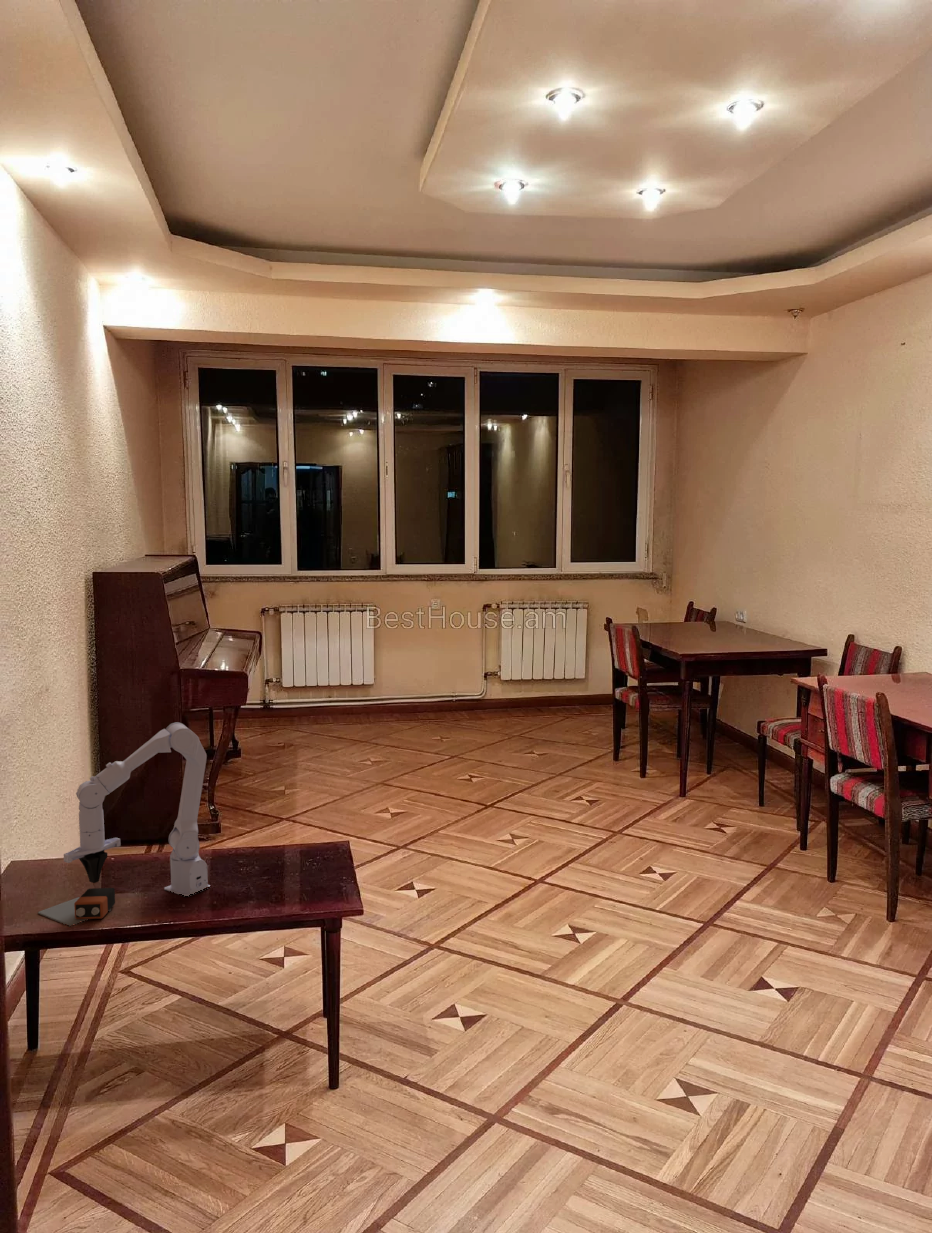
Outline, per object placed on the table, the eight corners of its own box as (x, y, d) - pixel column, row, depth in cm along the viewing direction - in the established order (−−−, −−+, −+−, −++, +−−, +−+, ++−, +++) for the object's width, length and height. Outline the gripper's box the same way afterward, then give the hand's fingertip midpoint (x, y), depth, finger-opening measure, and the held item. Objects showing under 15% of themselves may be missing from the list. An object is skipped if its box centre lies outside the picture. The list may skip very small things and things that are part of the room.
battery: (87, 887, 219) (72, 904, 209) (115, 887, 219) (100, 903, 209) (88, 904, 219) (72, 921, 209) (115, 903, 220) (101, 920, 210)
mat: (111, 910, 216) (111, 909, 216) (70, 926, 207) (70, 925, 207) (78, 898, 224) (78, 896, 224) (37, 913, 215) (37, 911, 215)
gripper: (108, 818, 226) (110, 869, 227) (55, 834, 214) (58, 887, 215) (124, 823, 222) (126, 874, 223) (72, 839, 210) (74, 893, 211)
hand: (94, 881), depth 219 cm, fingers closed
